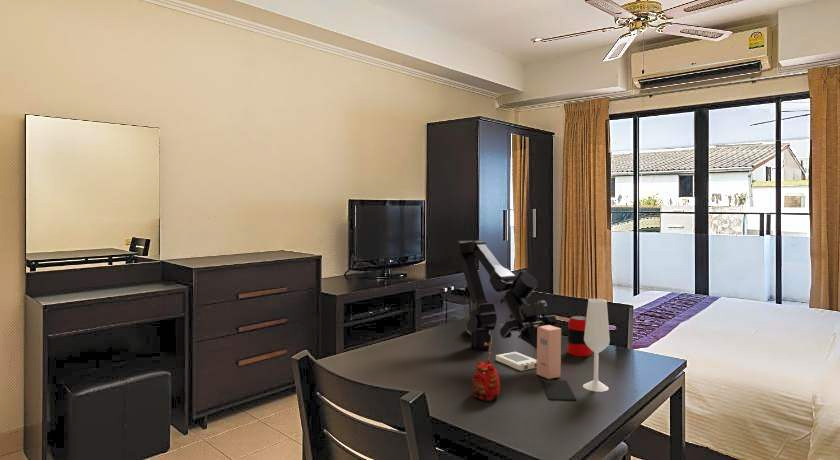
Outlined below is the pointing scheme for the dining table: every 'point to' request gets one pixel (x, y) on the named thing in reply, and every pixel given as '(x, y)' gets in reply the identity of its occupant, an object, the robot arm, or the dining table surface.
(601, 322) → the champagne flute
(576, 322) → the soda can
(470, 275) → the robot arm
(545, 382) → the smartphone
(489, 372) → the red clay folk toy
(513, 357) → the pad
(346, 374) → the dining table surface
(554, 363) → the block
